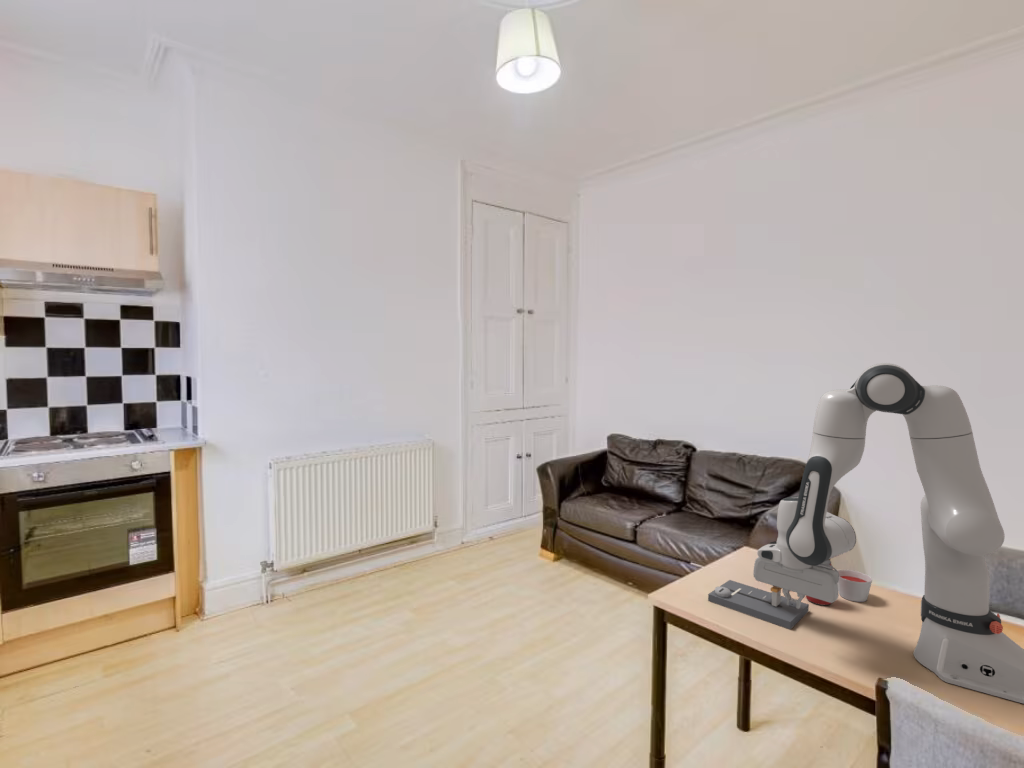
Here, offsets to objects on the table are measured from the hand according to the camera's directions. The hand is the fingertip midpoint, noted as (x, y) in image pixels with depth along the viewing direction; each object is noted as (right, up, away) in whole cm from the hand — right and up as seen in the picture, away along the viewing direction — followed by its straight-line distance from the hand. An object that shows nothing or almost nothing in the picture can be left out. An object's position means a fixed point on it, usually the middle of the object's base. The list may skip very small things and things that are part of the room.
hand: (793, 606), depth 138 cm
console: (-6, -3, +7) cm, 10 cm away
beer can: (+13, -3, +10) cm, 16 cm away
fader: (-3, -1, +3) cm, 5 cm away
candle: (+24, -3, +12) cm, 27 cm away
